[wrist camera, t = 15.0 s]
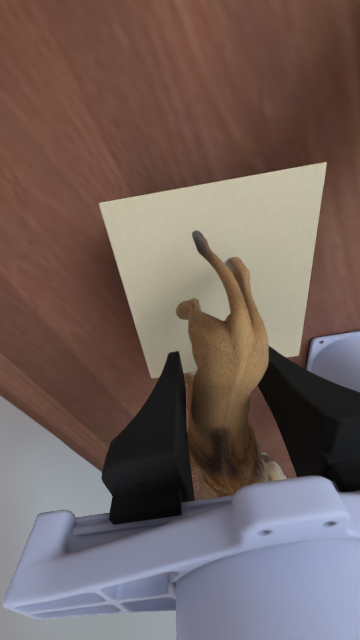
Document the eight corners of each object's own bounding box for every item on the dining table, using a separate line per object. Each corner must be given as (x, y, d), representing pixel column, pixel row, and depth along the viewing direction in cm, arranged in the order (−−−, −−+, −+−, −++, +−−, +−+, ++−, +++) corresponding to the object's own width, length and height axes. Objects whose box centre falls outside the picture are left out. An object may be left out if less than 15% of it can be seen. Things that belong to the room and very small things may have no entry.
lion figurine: (251, 399, 19) (307, 543, 11) (190, 410, 19) (205, 556, 12) (240, 218, 12) (384, 277, 4) (142, 240, 12) (95, 336, 4)
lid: (101, 202, 13) (97, 203, 12) (318, 163, 12) (327, 161, 12) (151, 372, 19) (151, 378, 19) (294, 349, 19) (299, 355, 18)
